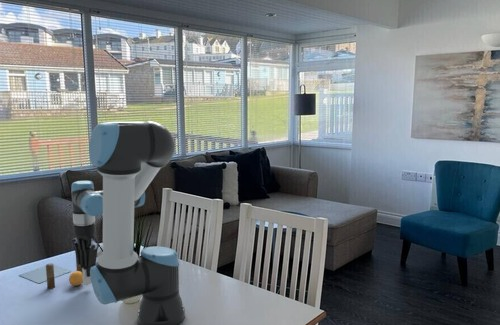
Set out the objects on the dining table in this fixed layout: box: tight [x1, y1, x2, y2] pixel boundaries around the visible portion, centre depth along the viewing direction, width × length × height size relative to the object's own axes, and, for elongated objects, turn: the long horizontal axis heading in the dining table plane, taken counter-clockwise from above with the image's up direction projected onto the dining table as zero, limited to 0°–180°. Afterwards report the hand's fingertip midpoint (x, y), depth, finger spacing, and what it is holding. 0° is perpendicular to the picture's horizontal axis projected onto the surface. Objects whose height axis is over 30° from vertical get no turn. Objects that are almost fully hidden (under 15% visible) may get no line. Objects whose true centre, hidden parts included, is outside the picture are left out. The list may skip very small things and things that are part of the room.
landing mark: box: [18, 264, 72, 284], centre depth 167 cm, size 14×14×1 cm
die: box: [96, 243, 103, 259], centre depth 180 cm, size 8×9×10 cm
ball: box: [68, 270, 83, 287], centre depth 156 cm, size 6×6×6 cm
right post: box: [75, 258, 82, 272], centre depth 164 cm, size 3×3×9 cm
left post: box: [45, 262, 56, 290], centre depth 154 cm, size 3×3×9 cm
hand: (87, 283), depth 153 cm, fingers closed
